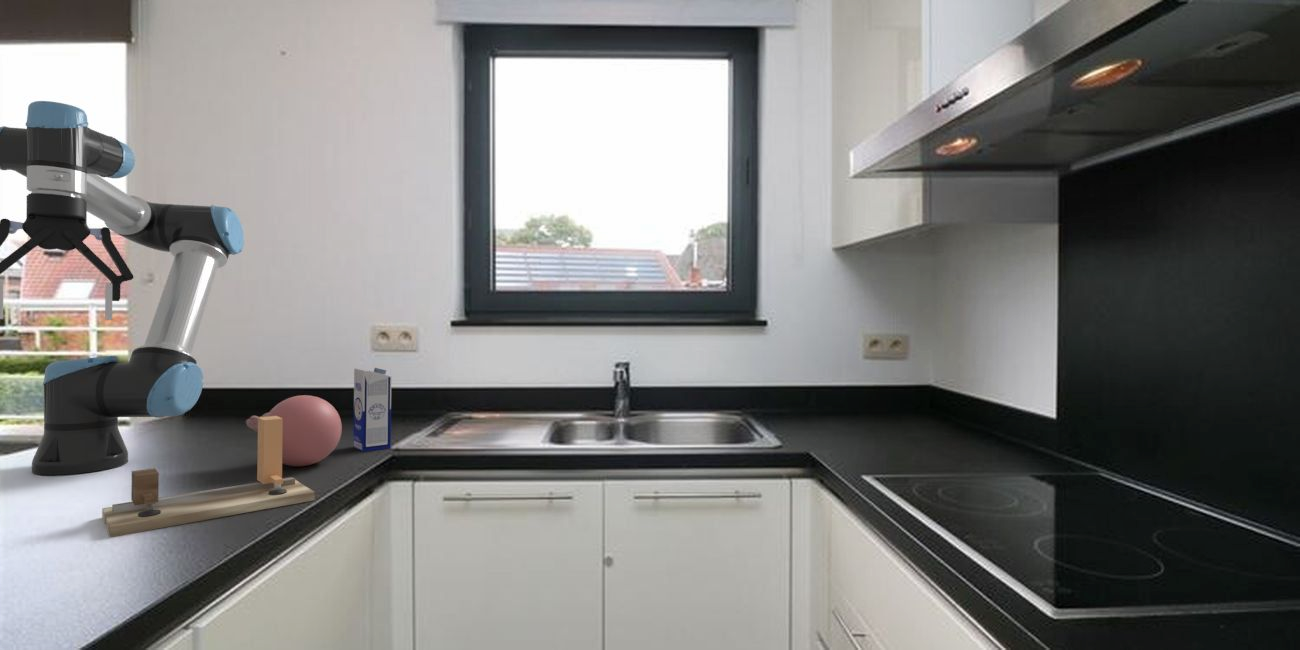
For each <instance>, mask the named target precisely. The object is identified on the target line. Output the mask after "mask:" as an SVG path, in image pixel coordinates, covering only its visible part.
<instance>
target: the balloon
mask: <svg viewBox="0 0 1300 650" xmlns="http://www.w3.org/2000/svg"><path fill="white" fill-rule="evenodd" d="M268 416H278V417H280V418H283V432H282V465H287V466H290V467H291V466H292V467H306V466H311V465H314V464H316V463H319V462H321V461H322V460H325V458H327V457H328V456H330V454H332V452H333V451H334V450H335V449H336V448H337V446H338V444H339V443H340V440H341V436H342V432H343V431H342V430H343V429H342V428H343V426H342V420H341V417H340V414H339V412H338V411H337V410H336V408H335V407H334V406H333V404H331V403H330V402H328V401H327V400H325V399H323V398H321V397H318V396H313V395H309V394H308V395H307V394H304V395H302V394H301V395H296V396H295V395H294V396H291V397H288V398H285V399H284V400H282V401H280V402H279V403H277V404H276V405H275V406H274V407H273V408H271V409H270V410H269V412H266V413H264V414H262V415H260V417H268ZM258 417H259V416H258V415H251V416H250V417H249V418H248V419H246V420H245V424H246V425H247V427H248V428H249V429H250V430H253V431H254V432H255V433H258Z"/></svg>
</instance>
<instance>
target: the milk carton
mask: <svg viewBox="0 0 1300 650" xmlns="http://www.w3.org/2000/svg"><path fill="white" fill-rule="evenodd" d="M353 370H354V371H353V376H354V377H353V437H352V438H353V445H352V446H353V448H355V450H356V449H357V450H358V451H361V452H372V451H379V450H386V449H387V450H388V449H391V446H392V445H391V442H392V441H391V437H392V432H391V431H392V375H388V374H386V373H387V369H386V370H385V369H382V368H378V367H374V369H373V371H372V370H366V369H361V368H354V369H353Z"/></svg>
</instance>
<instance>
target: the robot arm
mask: <svg viewBox="0 0 1300 650" xmlns="http://www.w3.org/2000/svg"><path fill="white" fill-rule="evenodd" d="M25 126H26V128H20V127H11V126H10V127H9V126H5V125H2V126H0V171H14V172H16V173H18V174H20V175H21V176H23V177H26V190H28V192H30V193H28V195H26V219H25V220H24V222H21V221H15V220H10V219H8V218H1V219H0V247H2V245H3V244H4V242H5V241H6V240H7V238H8V237H9V235H11V234H12V235H13V234H16V232H17V231H19V230H22V231H23V232H24V233H25V234H26V235H28V237H29V238H30V239H28V240H27V241H25V243H23V244H22V245H21V246H19V247H18V248H17V249H15V250H14V251H13V252H12V253H10V254H9V255H8V256H6V257H5V258H3V260H1V261H0V275H2V274H3V273H4V272H5V271H7V270H8V269H10V268H11V267H12V266H13V265H14V264H16V263H17V262H18V261H19V260H21V259H22V258H23V257H24V256H26V255H28V253H30V252H31V251H33V250H34V249H35V248H36V247H39V248H41V249H43V250H46V251H47V250H49V251H51V250H60V251H63V252H64V251H66V252H68V251H73V250H75V249H76V250H77V251H78V252H79V253H80V254H81V255H82V256H83V257H84V258H86V260H87V261H89V263H91V264H92V265H93V266H94V267H95V268H96V269H97V270H98V271H99V272H101V274H102V275H103V276H105V277H106V279H107V280H109V281H110V283H108V282H106V283H105V284H104V285H105V286H104V287H105V288H104V289H105V291H104V296H105V297H104V299H105V300H104V306H105V307H104V309H105V310H104V320H106V321H110V320H111V321H112V320H113V302H119V301H120V300H121V284H122V283H124V282H128V281H132V280H133V279H134V275H133V272H132V271H131V269H130V268H129V265H127V263H126V261H125V260H124V258H123V256H122V255H121V252H119V250H118V248H117V247H116V245H115V244H114V242H113V240H112V237H111V236H112V234H111V232H113V233H115V234H117V235H118V236H120V237H122V238H124V239H127V240H129V241H130V242H133V243H136V244H139V245H141V246H144V247H146V248H149V249H153V250H156V251H160V252H166V253H170V254H171V255H172V256H173V261H172V264H171V267H170V270H169V271H168V275H167V278H166V281H165V284H164V286H163V287H164V288H163V290H162V293H161V295H160V298H159V302H158V304H157V308H156V309H155V313H154V315H153V317H152V321H151V324H150V327H149V329H148V333H147V336H146V339H145V341H144V344H143V345H140V346H139V347H136V348H134V349H133V350H132V353H131V356H130V358H129V361H127V362H124V361H123V362H120V359H119V357H118V356H117V355H107V356H96V357H88V358H87V357H86V358H75V359H68V360H58V361H54V362H53V361H52V362H50V363H49V364H48V365H47V366H46V367H45V369H44V370H45V371H44V376H43V377H44V378H43V382H42V385H43V434H42V437H41V439H40V442H39V445H38V447H37V449H36V452H35V453H34V456H33V458H32V461H31V473H33V474H35V475H41V476H60V475H61V476H62V475H63V476H64V475H72V474H73V475H74V474H84V473H85V474H86V473H90V472H91V473H92V472H97V471H98V472H99V471H104V470H110V469H113V468H117V467H121V466H124V465H125V464H128V462H129V450H128V449H127V446H126V444H125V442H124V439H123V436H122V435H121V432H120V429H119V423H118V421H119V419H118V418H167V417H178V416H181V415H184V414H185V413H187V412H188V411H190V410H191V409H192V408H193V407H194V406H195V405H196V404H197V402H198V400H199V398H200V396H201V394H202V390H203V386H204V382H203V379H204V375H203V371H202V369H201V367H200V366H199V365H198V364H197V362H198V360H197V358H196V357H195V356H194V355H193V354H192V353H193V352H192V351H193V349H194V345H195V342H196V339H197V337H198V336H197V335H198V333H199V329H200V326H201V323H202V319H203V316H204V313H205V310H206V306H207V303H208V300H209V296H210V293H211V290H212V287H213V283H214V282H215V281H214V280H215V278H216V275H217V274H216V273H217V269H219V268H220V269H221V268H222V267H224V266H226V264H227V263H228V259H229V256H230V255H233V256H235V255H239V254H240V253H241V252H242V251H243V248H244V243H245V242H244V241H245V240H244V231H243V230H244V229H243V226H242V223H241V221H240V218H239V216H238V214H237V213H236V212H235V211H234V210H233V209H232V208H230V207H227V206H216V205H214V204H213V205H209V206H208V205H190V204H172V203H157V202H152V201H151V202H149V201H146V200H144V199H143V198H142V197H139V196H135V195H130V194H127V193H125V192H124V191H122V190H121V189H120V188H118V187H117V186H115V185H113V184H112V183H110V182H109V181H108V180H106V179H104V178H108V179H120V178H124V177H126V176H128V175H129V174H130V173H131V172H132V171H133V169H134V168H135V164H136V160H135V159H136V157H135V155H134V154H135V153H134V152H133V150H132V149H131V148H130V146H128V145H127V144H126V143H124V142H122V141H120V140H118V139H117V138H116V137H113V136H109V135H106V134H104V133H101V132H99V131H96V130H93V129H92V128H90V127H88V126H89V122H88V116H87V113H86V112H85V111H84V109H82V108H79V107H77V106H74V105H70V104H67V103H62V102H57V101H49V100H48V101H47V100H37V101H32V102H31V103H29V104H28V107H27V116H26V122H25ZM87 213H89V214H91V215H92V216H94V217H96V218H98V219H99V220H102V221H103V222H104V224H105V225H106V226H105V227H102V228H100V227H99V228H97V227H95V228H90V227H89V226H88V223H87V221H88V220H87V216H88V215H87ZM90 235H92V236H93V237H94V238H95V239H96V240H97V241H101V244H102V246H103V247H104V248H105V251H106V252H107V254H108V256H109V257H110V258H111V260H112V262H113V263H114V265H115V267H116V268H117V270H118V271H119V273H120V274H119V275H118V274H117V273H115V272H114V271H113V270H112V269H111V268H110V267H109V266H108V264H106V263H105V262H104V261H103V260H102V259H101V258H100V257H99V256H98V255H96V253H95V252H93V251H92V250H91V249H90V247H89V246H88V245H86V243H85V242H84V241H85V239H87V238H88V237H89V236H90ZM0 320H4V278H0Z"/></svg>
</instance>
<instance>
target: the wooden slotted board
mask: <svg viewBox="0 0 1300 650" xmlns="http://www.w3.org/2000/svg"><path fill="white" fill-rule="evenodd" d="M159 475H160V474H159V471H158V469H156V468H154V467H153V468H146V469H138V470H132V471H131V498H130V500H131V501H128V502H121V503H115V504H114V503H113V504H112V505H111V506H109V507H102V510H101V512H102V513H101V514H102V515H101V517H102V520H103V523H104V526H105V525H106V526H105V528H106V530H108V531H107V533H108V535H109V537H110V538H112V537H117V536H118V537H119V536H123V535H129V534H134V533H139V532H144V531H145V532H146V531H150V530H157V529H162V528H167V527H174V526H179V525H183V524H189V523H196V522H200V521H206V520H213V519H217V518H222V517H223V518H224V517H228V516H234V515H240V514H244V513H252V512H256V511H257V512H258V511H264V510H268V509H273V508H279V507H285V506H291V505H296V504H301V503H307V502H312V501H315V497H316V495H315V493H316V492H315V491H314V490H313V489H311V488H309V487H307V486H306V485H304V484H303V483H301V482H299V481H298V480H297V479H296V478H294V477H293V476H292V477H285V478H282V479H283V484H281V489H278V490H275V489H274V483H267V484H262V483H261V482H260V481H259V482H254V483H245V484H239V485H235V486H227V487H226V486H225V487H220V488H213V489H207V490H206V489H205V490H201V491H195V492H193V491H192V492H186V493H181V494H174V495H168V496H162V497H159V489H160V487H159V484H160V483H159V481H160V480H159Z"/></svg>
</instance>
